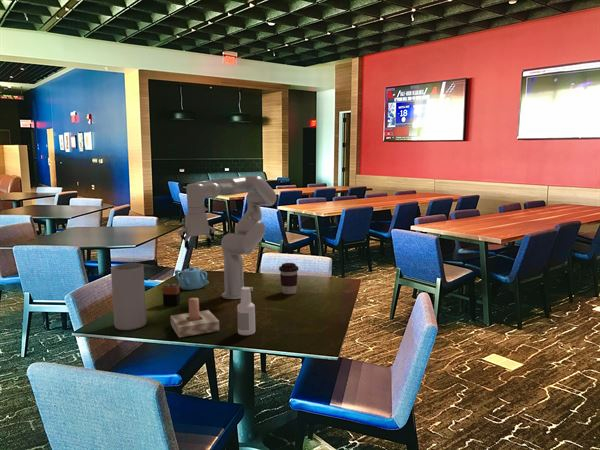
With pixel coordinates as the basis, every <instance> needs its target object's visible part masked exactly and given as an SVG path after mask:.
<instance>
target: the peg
mask: <svg viewBox="0 0 600 450" xmlns="http://www.w3.org/2000/svg"><path fill="white" fill-rule="evenodd" d="M199 311H200V299H199V297H191V298H188V313H189V321H196V320H199Z"/></svg>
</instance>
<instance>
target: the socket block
mask: <svg viewBox="0 0 600 450" xmlns="http://www.w3.org/2000/svg"><path fill="white" fill-rule="evenodd" d="M170 326H171V327H172V329H173V330H174V333H175V334H176V335H177V336H178V338H184V337H189V336H195V335H196V336H197V335H202V334H206V333H207V334H208V333H214V332H219V331H220V320H219V319H218V318H217V317H216V316H215V315H214V314H213V313H212V312H211V311H210V310H209V309H207V310H199V320H196V321H189V312H185V313H180V314H174V315H173V314H172V315H170Z"/></svg>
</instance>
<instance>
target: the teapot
mask: <svg viewBox="0 0 600 450" xmlns="http://www.w3.org/2000/svg"><path fill="white" fill-rule="evenodd" d="M179 273H180V276H179ZM174 276H175V277H176V280H177V281H178V283H177V285H179V289H181V290H184V291H185V290H187V291H193V290H194V289H195V290H199V289H201V288H202V289H203V288H204V286H205V285H209V283H210V282H209V280H208V272H207V271H204V270H201V269H200V267H197V266H196V267H194V265H193V266H189V267H188V268H186V269H183V270H179V269H176V270H174ZM195 290H194V291H195Z"/></svg>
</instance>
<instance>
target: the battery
mask: <svg viewBox="0 0 600 450" xmlns="http://www.w3.org/2000/svg"><path fill="white" fill-rule="evenodd" d="M180 293H181V292H180V287H179V285H178V283H172V284H169V283H165V285H164V286H162V302H163V303H162V305H163V306H166V307H168V306H169V307H177V306H178V305H180V304H181V297H180V296H181V294H180Z"/></svg>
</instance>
